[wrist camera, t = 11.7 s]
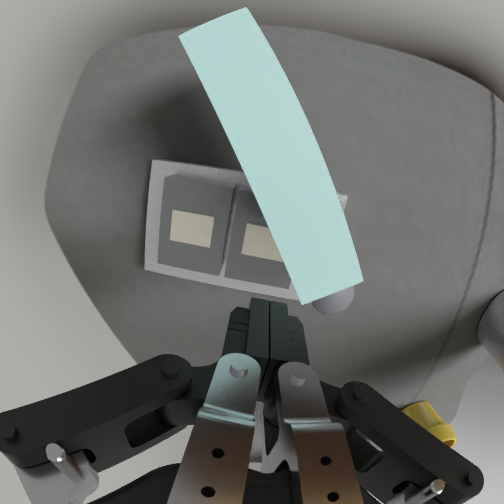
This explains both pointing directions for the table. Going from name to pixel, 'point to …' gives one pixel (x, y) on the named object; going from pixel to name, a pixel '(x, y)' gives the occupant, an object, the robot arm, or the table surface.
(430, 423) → the plant pot
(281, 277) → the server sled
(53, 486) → the robot arm
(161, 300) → the table surface
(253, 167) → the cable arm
